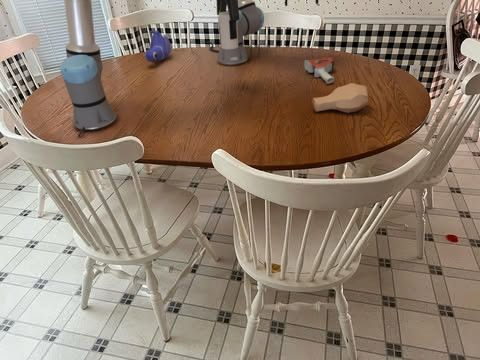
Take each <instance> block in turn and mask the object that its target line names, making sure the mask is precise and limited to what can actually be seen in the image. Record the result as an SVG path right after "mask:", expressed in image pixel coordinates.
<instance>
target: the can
mask: <svg viewBox="0 0 480 360" xmlns="http://www.w3.org/2000/svg"><path fill="white" fill-rule="evenodd" d="M218 17H219V22H220V35H221V48H223V49H235V48H237V47H238V30H237V39H232V40H231V39H230V28H229V20H230V17H229V12H228V11H227V10H226V11H225V12H220V13H219V15H218ZM236 26H237V21H236Z"/></svg>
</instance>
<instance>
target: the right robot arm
mask: <svg viewBox="0 0 480 360" xmlns="http://www.w3.org/2000/svg"><path fill="white" fill-rule="evenodd" d="M314 3H315V5H319V0H315V2H314ZM284 6H285V7H288V0H284ZM238 8H239V20H237V30H238V47H237V48H235V49H223V48H221V35H220V22H219V16H217V21H218V22H217V26H218V27H217V28H218V36H219V50H217V49H213V48H214V46H215V45H214V44H213V43H212V42H211V41H209V40H206V41H205V44H209V45H211V46H210V47H209V50H210V52H214V53H218V56H217V63H218V64H219V65H222V66H229V67H230V66H231V67H232V66H233V67H234V66H239V65H240V66H241V65H243V64H245V63H247V62H248V54H247V51H246V49H245V45H244V37H246V36H248V35H252V34H255V33H257V32H260V31H261V29H263V27H264V23H265V14H264V12H263V10H262V8H260V7H258V6H257V5H256V1H255V0H238ZM226 11H228V9H226Z"/></svg>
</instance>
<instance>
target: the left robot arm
mask: <svg viewBox="0 0 480 360" xmlns="http://www.w3.org/2000/svg"><path fill="white" fill-rule="evenodd" d="M64 8H65V9H64V10H65V16H66V23H67V33H68V38H69V39H68V40H69V41H68V43H67V44H66V45H65V52H66V53H65V54H66V58H65V59H63V60H61V62H60V64H59V69H60V75H61V77H62V79H63V82H64V84H65V87H66V90H67V93H68V96H69V99H70V101H71V104H72V108H73V114H72V117H73V118H72V119H73V125H74V128H75V129H76V131H78V134H77V137H78V138H81V136H82V133H92V132H99V131H102V130H105V129H107V128H110V127H111V126H113V125H115V124H116V122H117V121H118V116H117V113H116V111H115V110H114V108H113V107H112V105H111V103H110V102H109V101H108V99H107V96H106V92H105V89H104V87H103V86H104V85H103V83H102V73H103V61H102V56H101V47H100V46H99V45H98V44H97V43H96V37H95V27H94V16H93V5H92V0H64ZM227 10H228V12H229V17H230V20H229V28H230V39H231V40H232V39H237V26H236V21H237V20H239V8H238V0H216V15H217V16H219V13H220V12H225V11H227Z"/></svg>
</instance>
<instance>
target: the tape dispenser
mask: <svg viewBox="0 0 480 360" xmlns="http://www.w3.org/2000/svg"><path fill="white" fill-rule="evenodd" d="M320 61H323V62H320ZM334 65H335V59H333V57H332V56H328V57H321V58H315V59H309V60H308V59H305V60H304V70H305V71H307V73H310V74H312V73H314V78H322V79H323V81H325V84H327V85H329V84H332V83H333V82H334V81H335V77H334V76H332V75H331V74H329V73H330V72H331V73H332V72H333V70H334Z"/></svg>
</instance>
